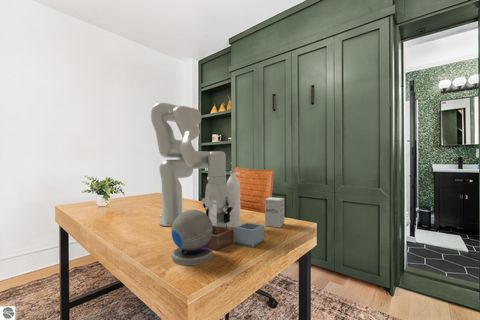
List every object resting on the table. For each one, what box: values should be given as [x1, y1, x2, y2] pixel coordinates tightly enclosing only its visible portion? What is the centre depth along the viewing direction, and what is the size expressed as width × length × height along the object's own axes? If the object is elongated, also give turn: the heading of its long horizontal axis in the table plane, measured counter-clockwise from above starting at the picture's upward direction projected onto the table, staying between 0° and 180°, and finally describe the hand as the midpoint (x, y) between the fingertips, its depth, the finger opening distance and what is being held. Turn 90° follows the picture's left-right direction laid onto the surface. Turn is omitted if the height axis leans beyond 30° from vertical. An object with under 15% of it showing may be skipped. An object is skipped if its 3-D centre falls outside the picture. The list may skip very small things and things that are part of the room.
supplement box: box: [264, 196, 285, 229], centre depth 110 cm, size 7×7×13 cm
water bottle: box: [226, 171, 242, 229], centre depth 111 cm, size 9×6×25 cm
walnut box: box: [205, 225, 235, 252], centre depth 87 cm, size 10×10×5 cm
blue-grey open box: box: [234, 222, 265, 249], centre depth 88 cm, size 8×8×6 cm
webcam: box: [170, 209, 214, 266], centre depth 76 cm, size 13×13×15 cm
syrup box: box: [208, 200, 228, 228], centre depth 99 cm, size 6×6×14 cm
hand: (217, 220), depth 99 cm, fingers open, 9 cm apart
